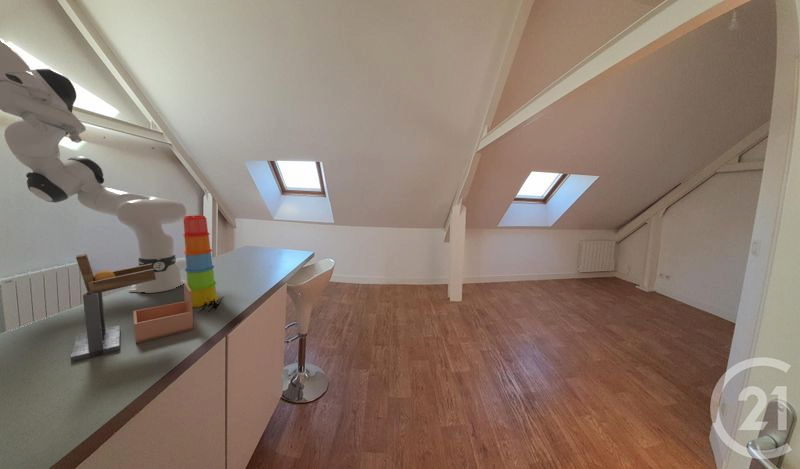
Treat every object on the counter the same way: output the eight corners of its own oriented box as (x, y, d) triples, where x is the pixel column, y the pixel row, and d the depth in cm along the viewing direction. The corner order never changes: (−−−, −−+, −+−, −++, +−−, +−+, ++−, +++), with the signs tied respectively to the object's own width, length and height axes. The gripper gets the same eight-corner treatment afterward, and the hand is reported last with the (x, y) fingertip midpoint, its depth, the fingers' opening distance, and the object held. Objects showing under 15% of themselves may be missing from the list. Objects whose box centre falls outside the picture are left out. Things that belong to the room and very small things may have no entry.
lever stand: (78, 338, 77) (71, 282, 75) (120, 329, 83) (115, 277, 81) (71, 362, 67) (63, 298, 65) (119, 350, 73) (114, 291, 71)
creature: (192, 315, 97) (209, 314, 96) (189, 301, 97) (206, 299, 95) (212, 307, 105) (228, 306, 103) (209, 294, 105) (225, 292, 103)
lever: (90, 288, 76) (78, 252, 73) (154, 274, 85) (145, 242, 83) (87, 300, 69) (73, 260, 66) (157, 283, 78) (147, 248, 76)
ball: (95, 283, 74) (93, 270, 74) (116, 281, 77) (114, 267, 76) (94, 287, 71) (92, 273, 71) (115, 285, 74) (114, 271, 74)
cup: (134, 328, 84) (131, 289, 82) (187, 317, 94) (185, 281, 92) (135, 343, 76) (132, 300, 75) (193, 329, 86) (191, 291, 84)
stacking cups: (218, 304, 105) (215, 217, 101) (185, 309, 100) (180, 216, 95) (218, 295, 114) (215, 214, 109) (187, 299, 108) (183, 214, 103)
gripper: (54, 113, 85) (85, 151, 87) (-36, 80, 65) (7, 130, 67) (73, 103, 86) (104, 141, 88) (-9, 68, 66) (33, 118, 68)
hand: (61, 136), depth 77 cm, fingers open, 8 cm apart
